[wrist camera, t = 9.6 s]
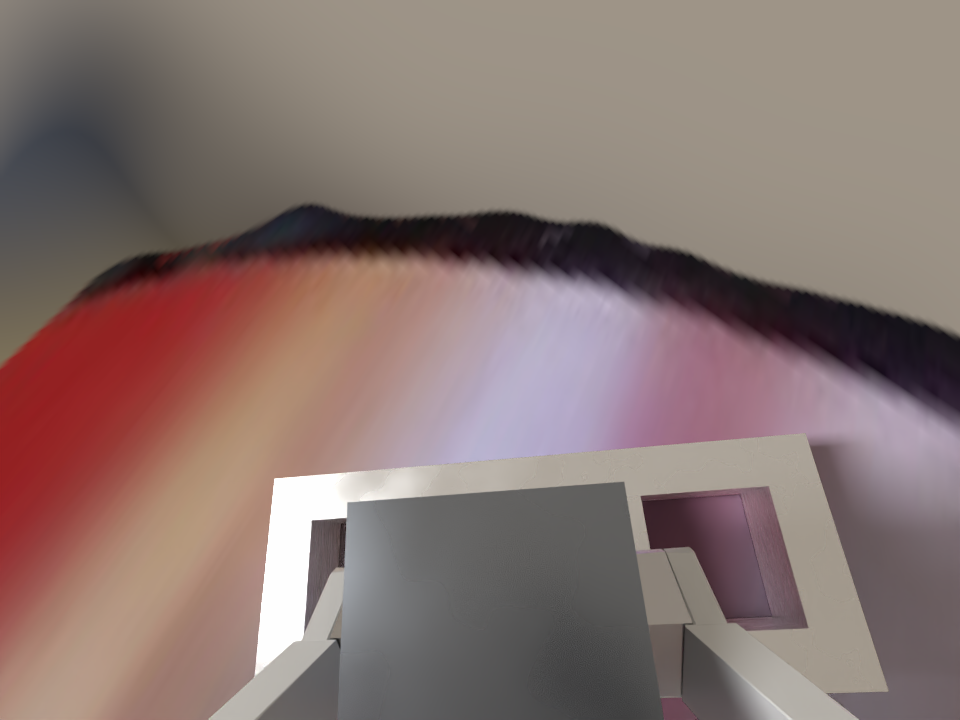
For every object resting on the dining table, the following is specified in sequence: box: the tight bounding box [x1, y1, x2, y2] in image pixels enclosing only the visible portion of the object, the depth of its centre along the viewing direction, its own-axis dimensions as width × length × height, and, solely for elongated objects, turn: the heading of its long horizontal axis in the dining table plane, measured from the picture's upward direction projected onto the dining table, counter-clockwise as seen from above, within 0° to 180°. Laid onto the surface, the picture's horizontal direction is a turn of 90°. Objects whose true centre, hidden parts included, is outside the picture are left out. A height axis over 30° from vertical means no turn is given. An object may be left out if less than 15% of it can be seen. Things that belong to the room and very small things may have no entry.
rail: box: [255, 433, 889, 698], centre depth 23 cm, size 26×10×4 cm, turn 93°
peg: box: [337, 482, 664, 720], centre depth 10 cm, size 4×4×8 cm
